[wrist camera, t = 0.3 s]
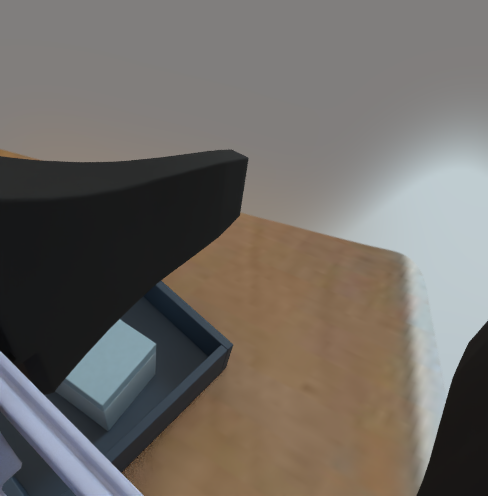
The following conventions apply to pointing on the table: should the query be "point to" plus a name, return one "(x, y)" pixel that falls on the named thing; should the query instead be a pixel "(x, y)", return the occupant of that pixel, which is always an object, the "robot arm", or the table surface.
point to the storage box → (149, 399)
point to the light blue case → (111, 374)
